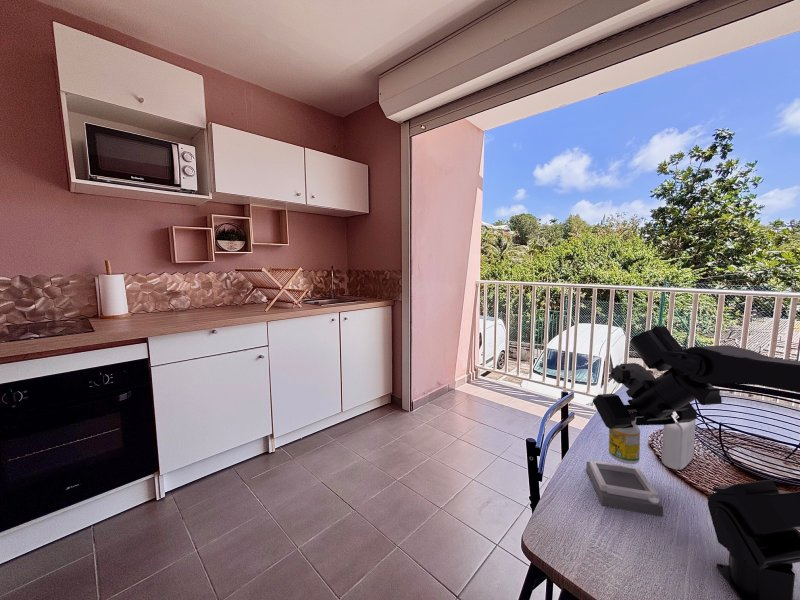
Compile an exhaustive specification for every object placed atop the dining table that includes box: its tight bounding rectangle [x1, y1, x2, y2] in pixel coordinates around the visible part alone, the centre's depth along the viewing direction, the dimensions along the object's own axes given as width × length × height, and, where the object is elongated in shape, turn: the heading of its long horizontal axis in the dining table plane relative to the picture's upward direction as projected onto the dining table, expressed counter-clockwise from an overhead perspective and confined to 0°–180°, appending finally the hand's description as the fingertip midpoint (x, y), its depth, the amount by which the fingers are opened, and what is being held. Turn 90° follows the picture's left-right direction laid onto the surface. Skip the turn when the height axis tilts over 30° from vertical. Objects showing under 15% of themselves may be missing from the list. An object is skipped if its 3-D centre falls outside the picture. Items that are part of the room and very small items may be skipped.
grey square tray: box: [586, 460, 664, 517], centre depth 66 cm, size 12×10×3 cm
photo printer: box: [661, 411, 697, 471], centre depth 76 cm, size 10×4×12 cm, turn 123°
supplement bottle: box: [608, 418, 641, 465], centre depth 67 cm, size 5×5×10 cm
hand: (619, 424), depth 69 cm, fingers closed on supplement bottle, 5 cm apart
